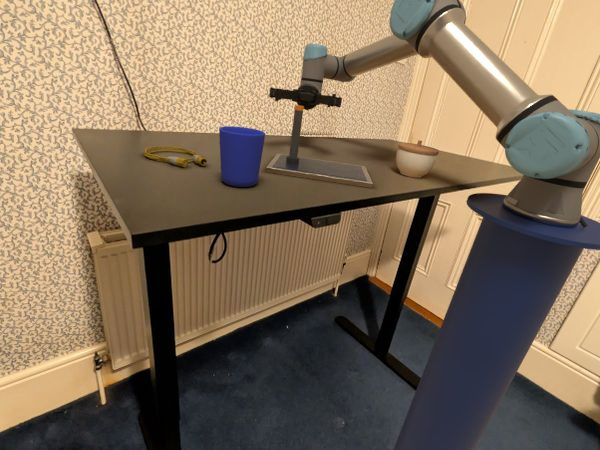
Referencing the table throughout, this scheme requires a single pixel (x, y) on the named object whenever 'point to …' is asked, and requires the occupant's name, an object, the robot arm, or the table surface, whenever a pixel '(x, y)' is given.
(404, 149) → the trinket box
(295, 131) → the stylus
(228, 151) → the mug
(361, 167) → the tablet
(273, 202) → the table surface
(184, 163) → the extension cord
